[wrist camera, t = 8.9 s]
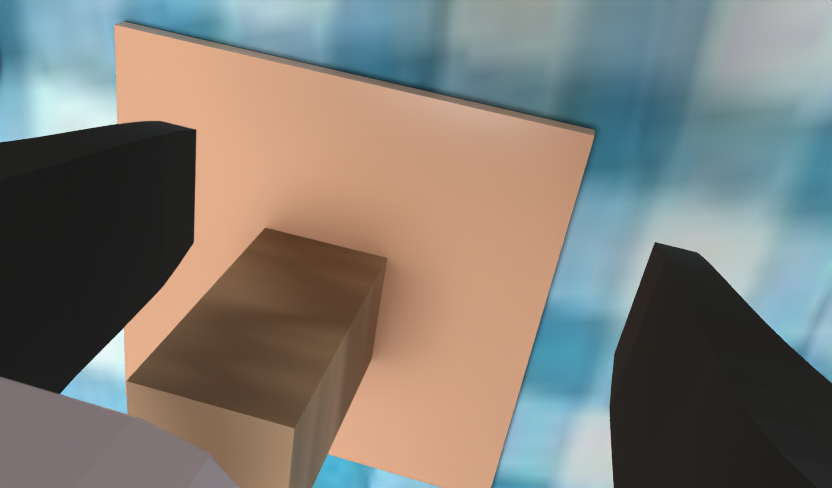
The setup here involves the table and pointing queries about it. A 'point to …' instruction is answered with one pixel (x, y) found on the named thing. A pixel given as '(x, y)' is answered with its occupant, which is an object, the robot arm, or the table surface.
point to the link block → (267, 359)
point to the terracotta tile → (373, 229)
